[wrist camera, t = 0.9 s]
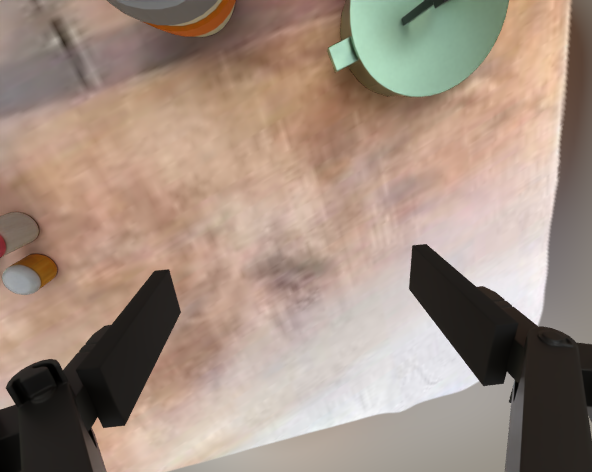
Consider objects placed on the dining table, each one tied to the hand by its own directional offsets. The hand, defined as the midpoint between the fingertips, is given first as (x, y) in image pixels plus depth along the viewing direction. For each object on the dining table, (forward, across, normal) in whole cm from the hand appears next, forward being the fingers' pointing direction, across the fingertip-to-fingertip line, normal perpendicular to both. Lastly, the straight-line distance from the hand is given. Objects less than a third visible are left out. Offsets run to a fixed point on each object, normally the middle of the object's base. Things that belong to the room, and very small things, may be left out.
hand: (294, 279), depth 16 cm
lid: (+20, +16, +17) cm, 31 cm away
